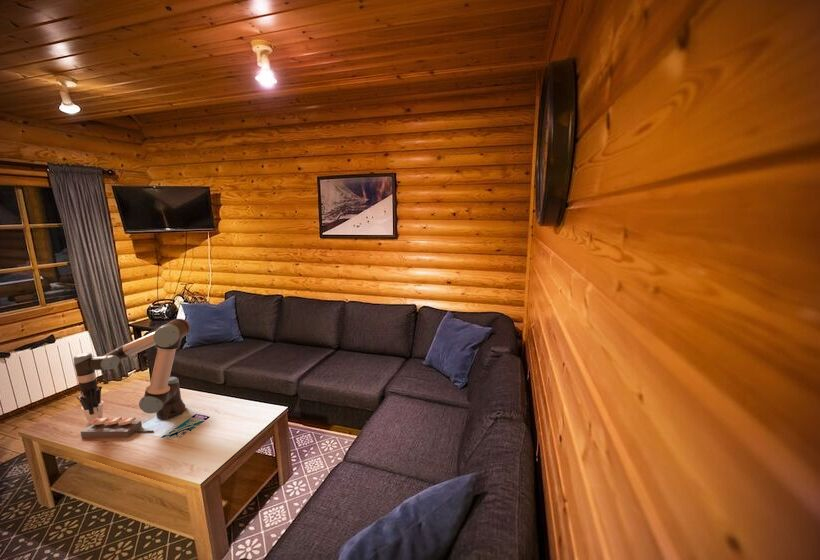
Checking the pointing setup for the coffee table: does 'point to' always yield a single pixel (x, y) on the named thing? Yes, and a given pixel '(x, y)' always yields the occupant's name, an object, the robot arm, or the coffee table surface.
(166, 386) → the robot arm
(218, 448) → the coffee table surface
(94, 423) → the rocker
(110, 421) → the rocker
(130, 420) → the rocker
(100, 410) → the cup
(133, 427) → the power strip
